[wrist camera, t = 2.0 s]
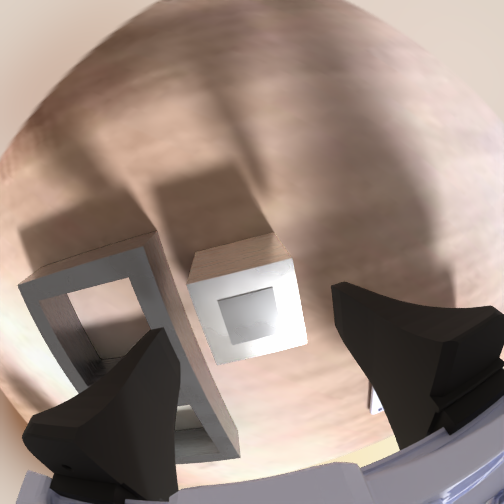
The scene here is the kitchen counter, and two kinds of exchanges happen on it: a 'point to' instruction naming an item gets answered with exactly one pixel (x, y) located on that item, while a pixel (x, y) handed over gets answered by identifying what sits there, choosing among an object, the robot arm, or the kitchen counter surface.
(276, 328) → the gray block
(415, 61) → the kitchen counter surface
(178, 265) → the kitchen counter surface
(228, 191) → the kitchen counter surface
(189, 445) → the grey rectangular tray
